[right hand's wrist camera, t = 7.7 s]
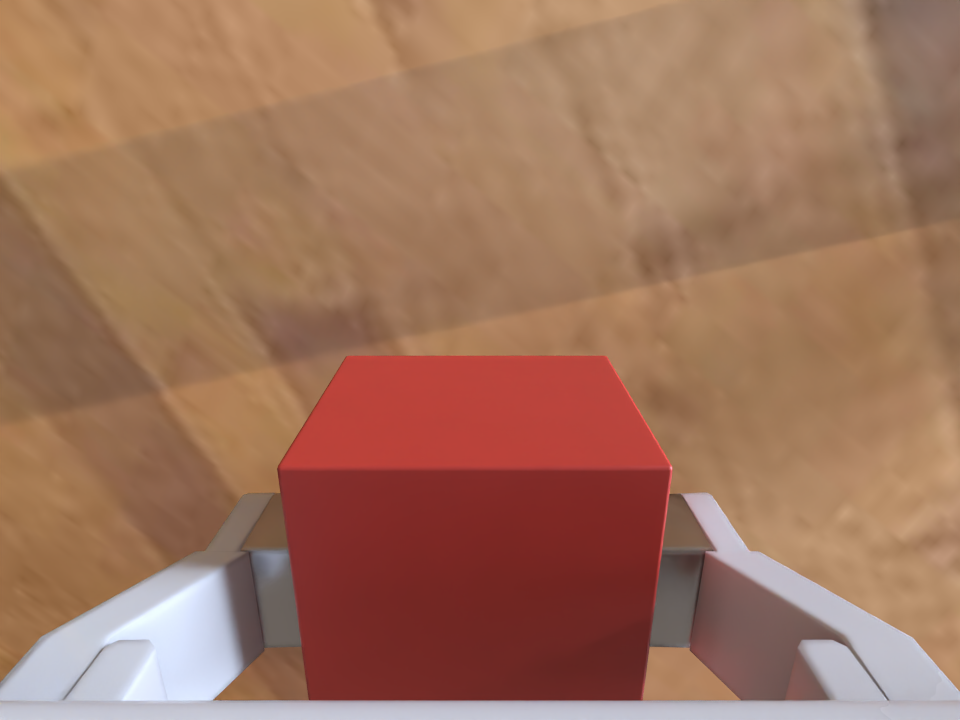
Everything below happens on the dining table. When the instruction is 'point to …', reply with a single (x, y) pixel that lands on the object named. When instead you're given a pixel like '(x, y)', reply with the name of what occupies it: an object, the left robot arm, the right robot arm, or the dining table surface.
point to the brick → (475, 531)
